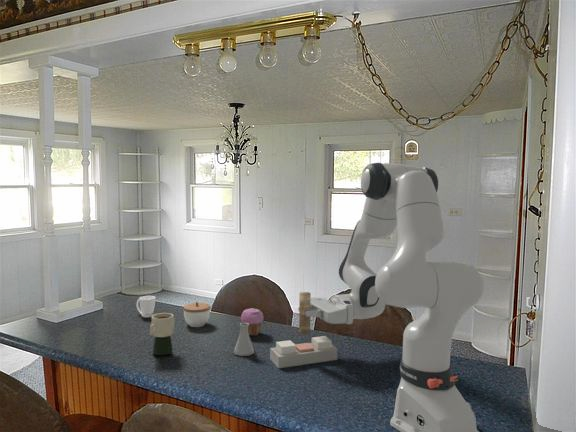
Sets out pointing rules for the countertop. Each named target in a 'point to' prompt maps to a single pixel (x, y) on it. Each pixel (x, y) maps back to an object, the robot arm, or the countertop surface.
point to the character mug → (162, 332)
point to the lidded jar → (196, 314)
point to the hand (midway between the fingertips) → (302, 311)
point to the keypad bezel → (303, 357)
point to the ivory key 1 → (285, 347)
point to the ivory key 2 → (321, 343)
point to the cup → (146, 305)
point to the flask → (244, 342)
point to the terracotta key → (304, 347)
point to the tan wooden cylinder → (304, 305)
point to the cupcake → (252, 320)
